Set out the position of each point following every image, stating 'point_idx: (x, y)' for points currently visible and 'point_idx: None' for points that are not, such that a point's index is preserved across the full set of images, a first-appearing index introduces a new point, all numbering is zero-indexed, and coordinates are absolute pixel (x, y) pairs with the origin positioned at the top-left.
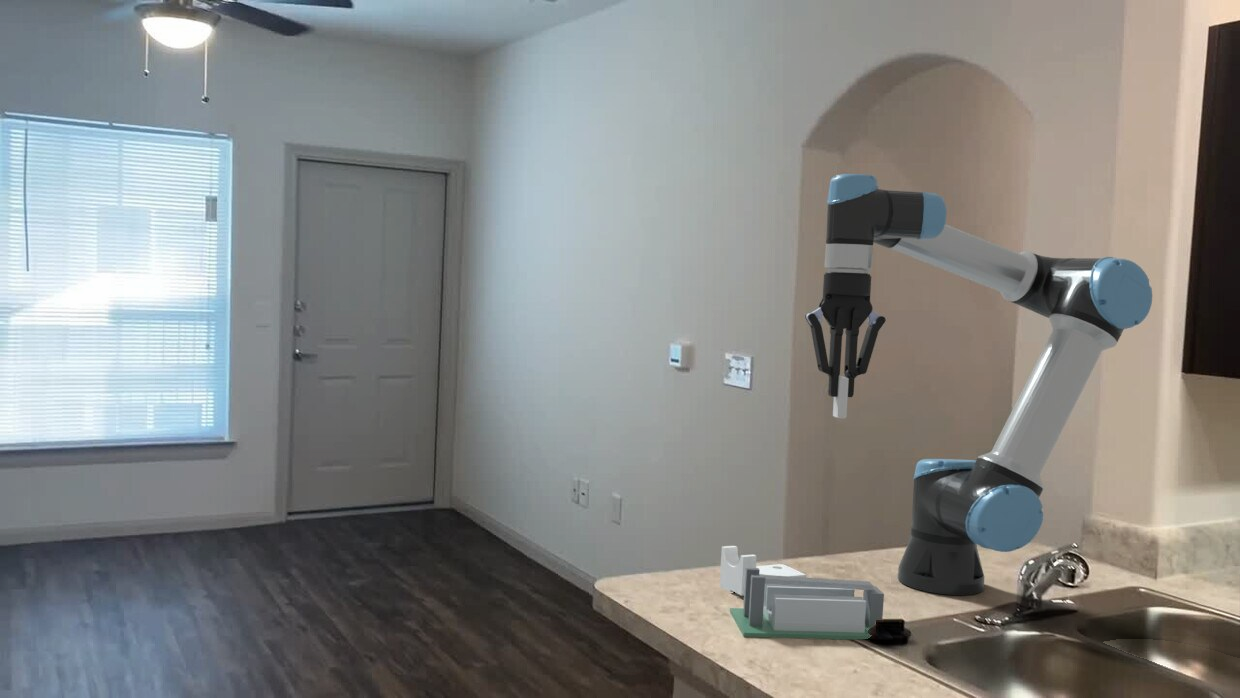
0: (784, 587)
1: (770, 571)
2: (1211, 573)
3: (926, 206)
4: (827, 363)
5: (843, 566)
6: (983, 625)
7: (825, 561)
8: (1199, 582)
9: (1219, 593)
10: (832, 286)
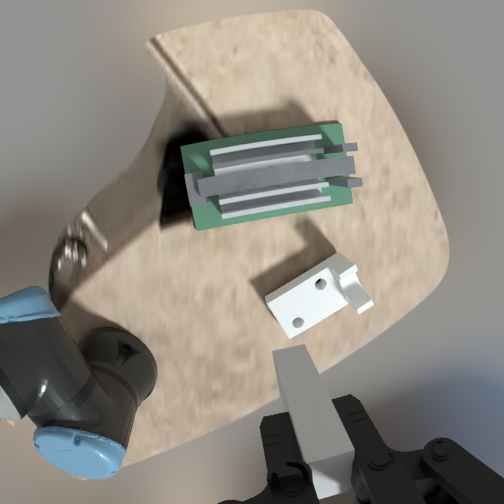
0: (308, 185)
1: (308, 304)
2: None
3: None
4: (448, 475)
5: (213, 398)
6: (81, 232)
7: (231, 408)
8: None
9: None
10: None
